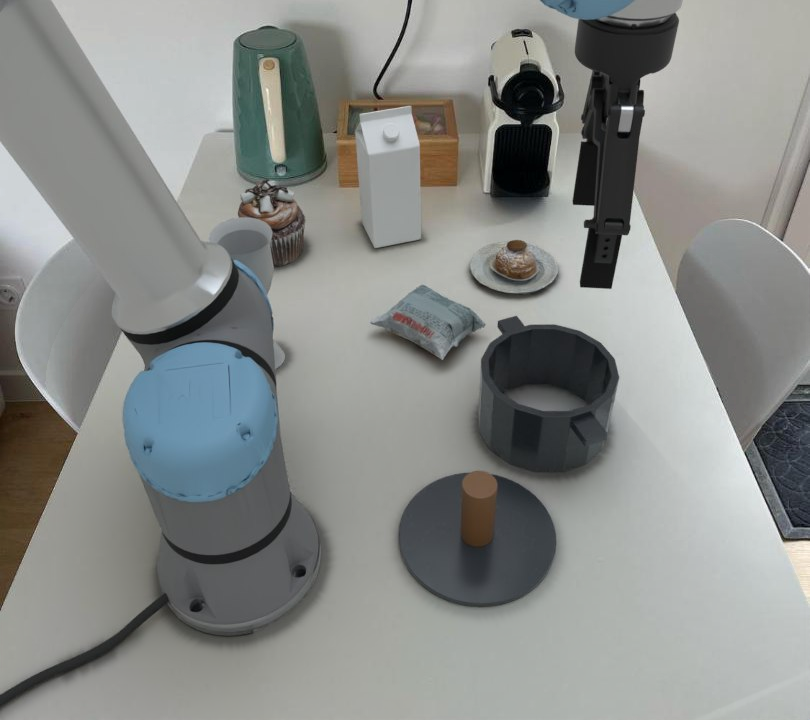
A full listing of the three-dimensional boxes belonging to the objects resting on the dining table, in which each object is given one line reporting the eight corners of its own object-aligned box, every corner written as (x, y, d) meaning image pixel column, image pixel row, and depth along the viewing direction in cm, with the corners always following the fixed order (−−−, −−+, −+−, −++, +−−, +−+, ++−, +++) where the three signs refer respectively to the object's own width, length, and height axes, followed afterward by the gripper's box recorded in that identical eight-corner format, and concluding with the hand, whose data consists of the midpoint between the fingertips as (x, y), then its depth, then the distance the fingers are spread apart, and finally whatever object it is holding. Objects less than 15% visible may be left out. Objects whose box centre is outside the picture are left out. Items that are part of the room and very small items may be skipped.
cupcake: (228, 259, 115) (215, 197, 109) (269, 225, 122) (259, 165, 115) (282, 277, 112) (273, 215, 105) (322, 242, 118) (315, 181, 111)
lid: (434, 633, 72) (434, 579, 66) (377, 505, 83) (373, 449, 77) (584, 578, 76) (596, 522, 70) (511, 462, 86) (517, 405, 81)
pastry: (515, 311, 105) (517, 282, 102) (451, 271, 112) (452, 243, 109) (575, 273, 111) (579, 245, 108) (511, 237, 118) (513, 210, 114)
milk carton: (361, 223, 121) (352, 103, 108) (406, 215, 123) (403, 94, 110) (374, 249, 116) (366, 126, 103) (421, 240, 118) (419, 117, 105)
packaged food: (442, 374, 97) (443, 343, 93) (369, 333, 103) (368, 302, 99) (486, 337, 102) (488, 307, 98) (414, 301, 107) (414, 270, 104)
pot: (525, 511, 82) (532, 452, 76) (449, 387, 95) (450, 328, 89) (644, 470, 85) (660, 411, 79) (554, 356, 99) (562, 298, 93)
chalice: (228, 349, 101) (200, 227, 89) (279, 332, 103) (259, 211, 91) (248, 385, 96) (220, 261, 84) (301, 367, 98) (282, 243, 86)
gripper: (708, 79, 52) (646, 329, 67) (659, -41, 71) (619, 176, 85) (590, 75, 53) (554, 324, 67) (572, -43, 71) (547, 173, 86)
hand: (590, 242), depth 76 cm, fingers open, 13 cm apart
